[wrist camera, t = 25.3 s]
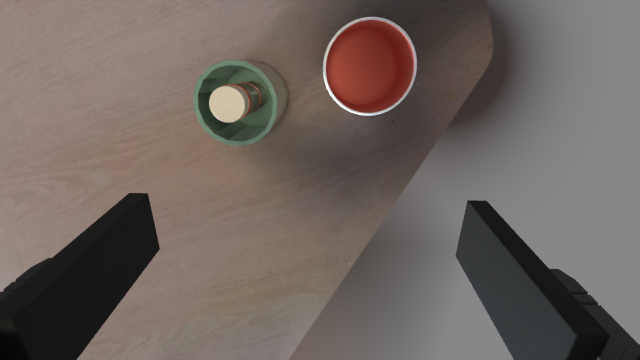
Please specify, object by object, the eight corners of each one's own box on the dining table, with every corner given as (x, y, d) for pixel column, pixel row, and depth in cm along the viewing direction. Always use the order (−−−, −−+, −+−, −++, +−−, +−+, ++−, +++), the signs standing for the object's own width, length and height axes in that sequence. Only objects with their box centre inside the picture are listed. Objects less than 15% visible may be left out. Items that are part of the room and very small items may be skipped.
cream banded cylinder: (263, 77, 46) (239, 81, 33) (270, 105, 47) (250, 119, 34) (236, 83, 46) (202, 89, 34) (244, 111, 47) (214, 127, 35)
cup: (406, 91, 46) (427, 97, 37) (337, 116, 48) (340, 128, 38) (386, 15, 44) (403, 1, 34) (313, 44, 45) (309, 37, 35)
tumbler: (290, 65, 46) (279, 64, 35) (286, 131, 48) (275, 149, 38) (223, 59, 46) (192, 56, 35) (223, 125, 48) (194, 141, 38)
